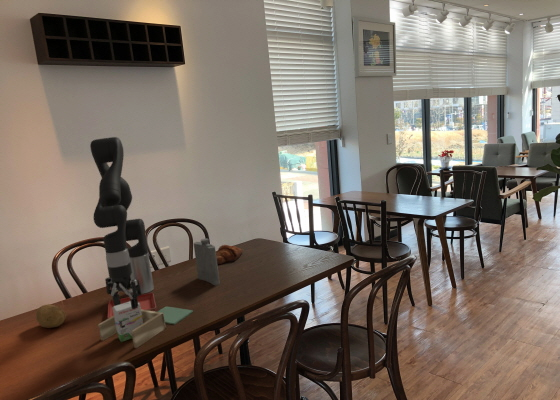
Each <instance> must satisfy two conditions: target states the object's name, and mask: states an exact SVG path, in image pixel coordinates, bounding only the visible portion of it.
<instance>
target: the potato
mask: <svg viewBox="0 0 560 400" xmlns="http://www.w3.org/2000/svg"><path fill="white" fill-rule="evenodd" d="M35 317H36V320H37V323H38V324H39V326H41V327H43V328H46V329H51V328H57V327H60V326H61V325H62V324H63V323H64V322H65V320H66V318H67V317H66V313H65V311H64V309H63V308H61V307H60V306H57V305H54V304H49V303H48V304H44V305H41V306H39V308H38V309H37V310H36V315H35Z"/></svg>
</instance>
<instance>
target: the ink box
mask: <svg viewBox="0 0 560 400" xmlns="http://www.w3.org/2000/svg"><path fill="white" fill-rule="evenodd" d="M113 313H114V319H115V324H116V330H117V333H116V335H117V338H118V339H119V341H120V342H121V343H122V342H125V341H128V340H131V339H132V340H133V338H132V332H131V331H132V330H134V329H135V328H137V327H139V326H140V325H142V324H143V319H142V313H141V307H140V304H139V302H138V307H137V308H135V309H132V307H131V301H130V302H126V303H123V304H120V305H116V306H114V307H113Z"/></svg>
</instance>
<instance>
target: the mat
mask: <svg viewBox="0 0 560 400" xmlns="http://www.w3.org/2000/svg"><path fill="white" fill-rule="evenodd" d="M157 312H161V313H164V320H165V324H170V325H174V326H175V325H176V324H178V323H179V322H180V321H183V320H184V319H185V318H187V317H188V316H189V315H191V314H192V313H193V312H194V310H193V309H185V308H179V307H173V306H166V305H165V307H163V308H160V309H159V310H158V311H157Z"/></svg>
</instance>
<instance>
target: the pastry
mask: <svg viewBox="0 0 560 400" xmlns="http://www.w3.org/2000/svg"><path fill="white" fill-rule="evenodd" d="M242 254H243V249H241V247H237V246H235V245H232V246H231V245H229V244H222V245H221V246H219V248H218V249H217V251H216V258H217V266H218V265H223V264H226V263H230V262H233V261H234V262H235V261H236V260H237V259H239V258H240V256H242Z"/></svg>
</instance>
